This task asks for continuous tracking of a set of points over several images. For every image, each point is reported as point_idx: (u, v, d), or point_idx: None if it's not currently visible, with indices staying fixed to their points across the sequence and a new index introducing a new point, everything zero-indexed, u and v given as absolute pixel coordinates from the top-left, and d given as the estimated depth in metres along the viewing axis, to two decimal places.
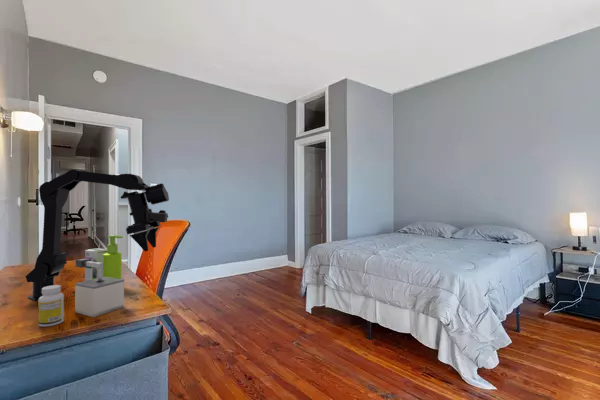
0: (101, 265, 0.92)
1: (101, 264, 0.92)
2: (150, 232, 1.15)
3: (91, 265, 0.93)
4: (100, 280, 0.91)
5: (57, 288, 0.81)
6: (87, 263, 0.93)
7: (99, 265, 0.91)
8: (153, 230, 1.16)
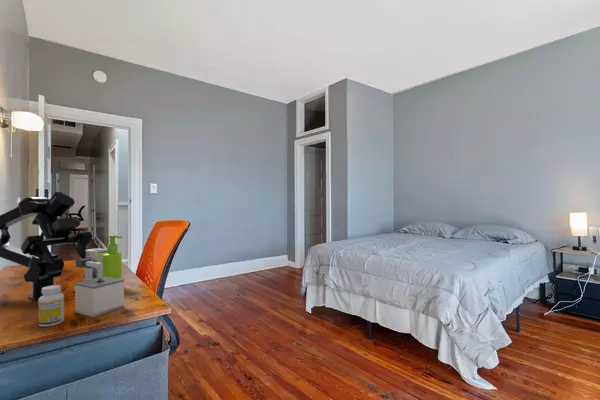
0: (101, 265, 0.92)
1: (101, 264, 0.92)
2: (78, 245, 1.05)
3: (91, 265, 0.93)
4: (100, 280, 0.91)
5: (57, 288, 0.81)
6: (87, 263, 0.93)
7: (99, 265, 0.91)
8: (79, 242, 1.05)
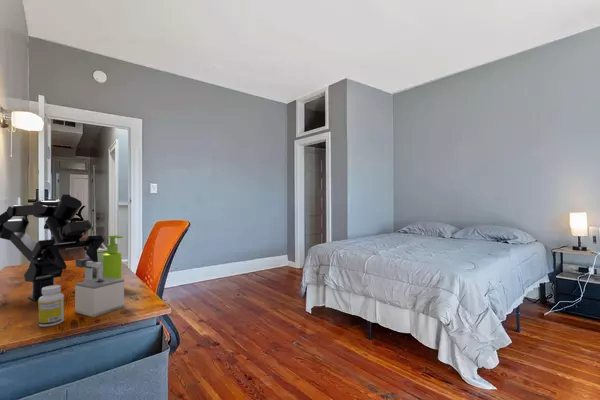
0: (101, 265, 0.92)
1: (101, 264, 0.92)
2: (90, 249, 1.02)
3: (91, 265, 0.93)
4: (100, 280, 0.91)
5: (57, 288, 0.81)
6: (87, 263, 0.93)
7: (99, 265, 0.91)
8: (91, 246, 1.02)
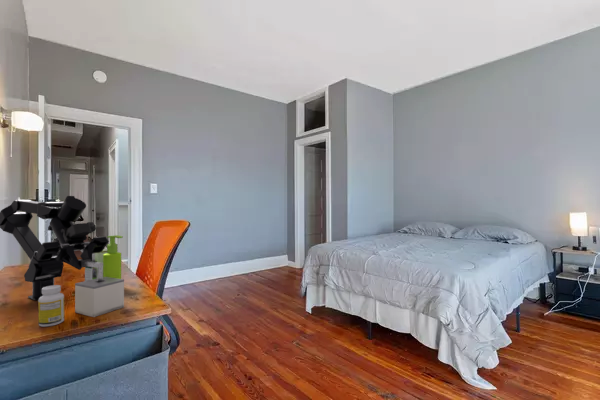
0: (101, 265, 0.92)
1: (101, 264, 0.92)
2: (84, 253, 0.98)
3: (91, 265, 0.93)
4: (100, 280, 0.91)
5: (57, 288, 0.81)
6: (87, 263, 0.93)
7: (99, 265, 0.91)
8: (85, 249, 0.98)
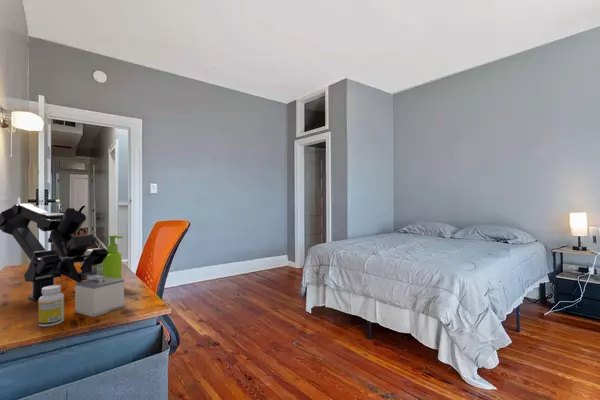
0: (101, 278, 0.92)
1: (101, 277, 0.92)
2: (84, 265, 0.98)
3: (91, 278, 0.93)
4: None
5: (57, 288, 0.81)
6: (87, 276, 0.93)
7: (99, 278, 0.91)
8: (85, 261, 0.98)
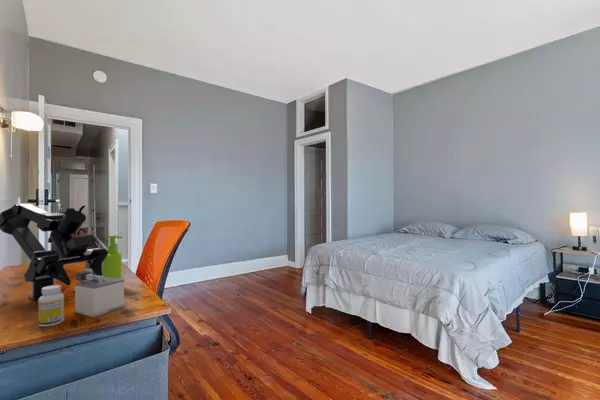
0: (101, 278, 0.92)
1: (101, 277, 0.92)
2: (94, 263, 1.01)
3: (91, 278, 0.93)
4: None
5: (57, 288, 0.81)
6: (87, 276, 0.93)
7: (99, 278, 0.91)
8: (95, 260, 1.01)
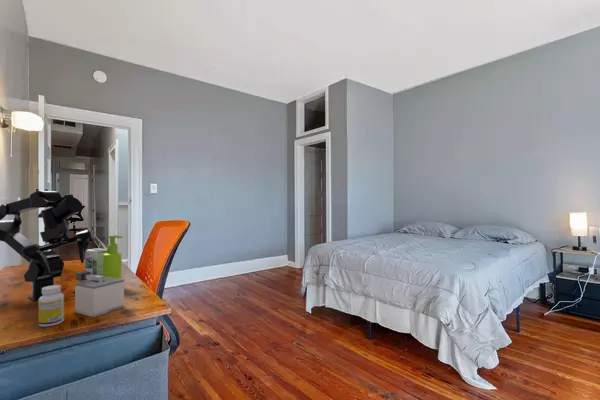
0: (101, 278, 0.92)
1: (101, 277, 0.92)
2: None
3: (91, 278, 0.93)
4: None
5: (57, 288, 0.81)
6: (87, 276, 0.93)
7: (99, 278, 0.91)
8: None
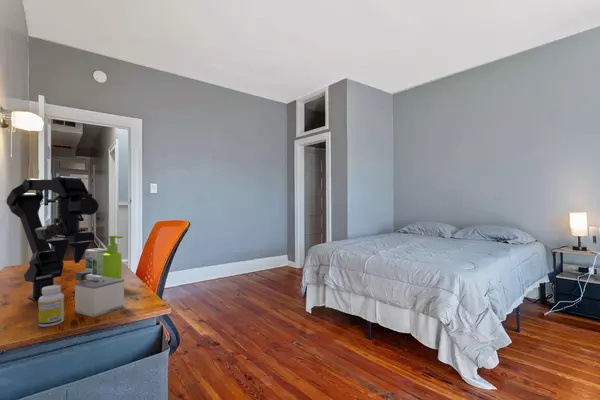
0: (101, 278, 0.92)
1: (101, 277, 0.92)
2: None
3: (91, 278, 0.93)
4: None
5: (57, 288, 0.81)
6: (87, 276, 0.93)
7: (99, 278, 0.91)
8: None
